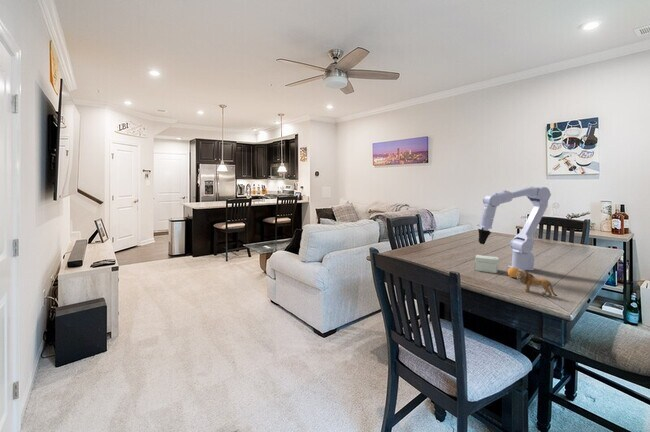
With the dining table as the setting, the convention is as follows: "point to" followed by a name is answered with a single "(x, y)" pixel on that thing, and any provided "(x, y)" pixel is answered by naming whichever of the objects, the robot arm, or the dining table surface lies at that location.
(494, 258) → the pale green block
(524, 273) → the lion figurine
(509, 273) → the ball
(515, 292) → the dining table surface
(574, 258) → the dining table surface
